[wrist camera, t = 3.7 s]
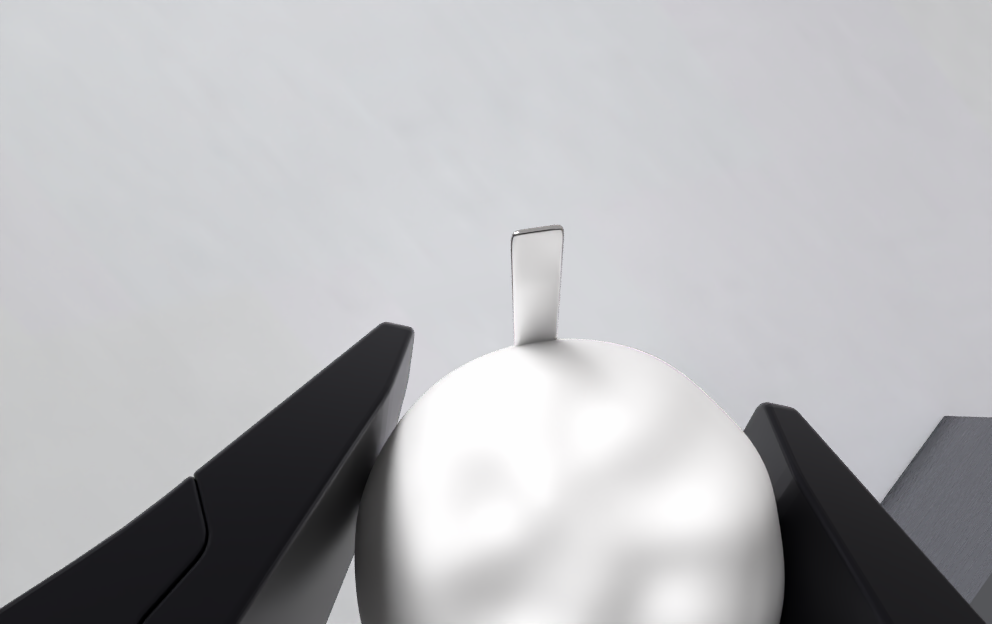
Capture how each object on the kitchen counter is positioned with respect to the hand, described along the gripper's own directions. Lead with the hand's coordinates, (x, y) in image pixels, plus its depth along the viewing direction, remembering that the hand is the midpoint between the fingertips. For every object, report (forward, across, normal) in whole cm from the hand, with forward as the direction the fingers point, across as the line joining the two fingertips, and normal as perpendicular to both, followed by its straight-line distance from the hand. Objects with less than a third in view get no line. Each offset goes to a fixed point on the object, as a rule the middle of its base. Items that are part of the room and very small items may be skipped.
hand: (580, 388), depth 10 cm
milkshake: (+4, 0, +6) cm, 7 cm away
